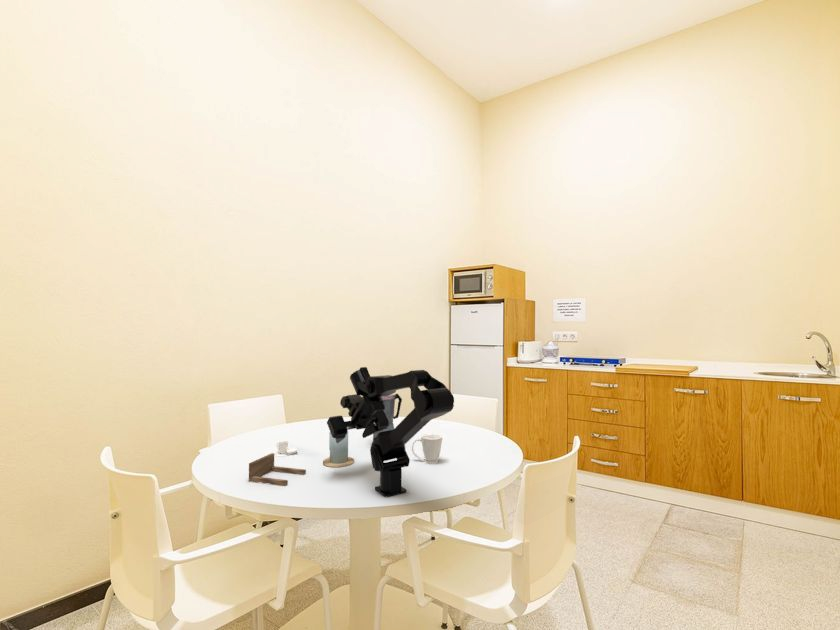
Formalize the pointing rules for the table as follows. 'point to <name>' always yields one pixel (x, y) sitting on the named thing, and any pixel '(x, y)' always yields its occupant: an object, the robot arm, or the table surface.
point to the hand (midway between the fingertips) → (350, 439)
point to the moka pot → (390, 411)
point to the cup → (430, 447)
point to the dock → (269, 470)
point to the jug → (338, 450)
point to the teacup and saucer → (284, 449)
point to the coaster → (328, 464)
